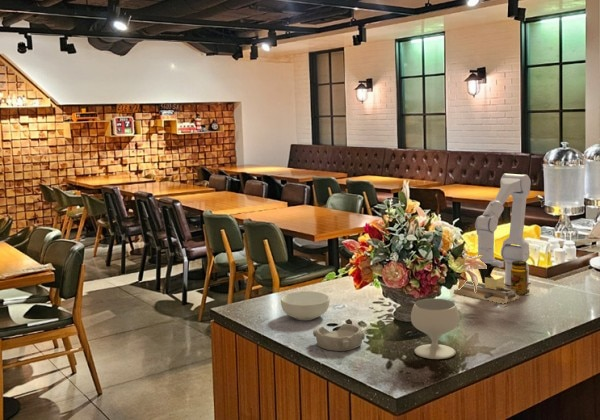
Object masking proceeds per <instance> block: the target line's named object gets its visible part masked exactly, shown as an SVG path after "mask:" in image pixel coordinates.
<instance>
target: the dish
mask: <svg viewBox="0 0 600 420" xmlns="http://www.w3.org/2000/svg"><path fill="white" fill-rule="evenodd" d="M312 334H313V337H315V339H316V344H317V346H318V347H320V348H321V349H324V350H327V351H335V352H336V351H339V352H344V351H345V352H346V351H350V350H351V351H352V350H354V349H356V348H358V347H360V346H361V345H362V342H363V340H365V338H366V335H365V334H366V333H365V332H364V331H362V330H361V327H359V326H357V325H355V324H351V323H350V324H349V323H343V324H341V326H340V327H339V329H337V330H335V331H330V330H328V329H326V328H325V327H324V326H323V325H322V326H319V327H317V328H315V329H313V331H312Z"/></svg>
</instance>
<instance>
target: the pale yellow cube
mask: <svg viewBox="0 0 600 420" xmlns="http://www.w3.org/2000/svg"><path fill="white" fill-rule="evenodd" d="M504 281H505V276H502V275H496V274H491V275H490V276H487V277H485V288H489V289H494V290H498V291H501V288H505V284H504Z"/></svg>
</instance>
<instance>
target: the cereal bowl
mask: <svg viewBox="0 0 600 420" xmlns="http://www.w3.org/2000/svg"><path fill="white" fill-rule="evenodd" d="M280 305H281V308H282V309H281V310H282V311H283V312H284V313H285V314H286V315H288V316H290V317H291V318H293V319H295V320H298V321H311V320H316V318H318V317H320V316H323V315H325V313H326V312H327V311H328V309H329V307H330V297H329V295H327V294H326V293H323V292H319V291H313V290H312V291H311V290H309V291H307V290H306V291H305V290H304V291H294V292H290V293H287V294H284V295H283V296H281V297H280Z"/></svg>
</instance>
